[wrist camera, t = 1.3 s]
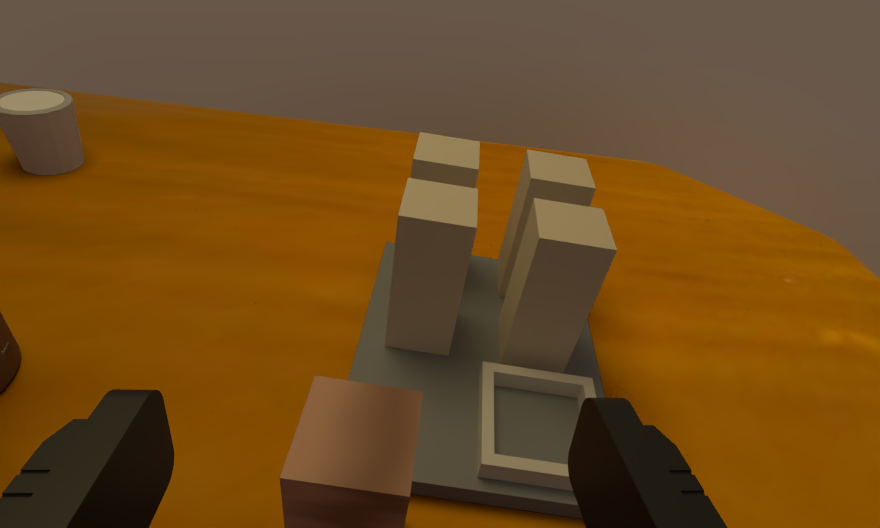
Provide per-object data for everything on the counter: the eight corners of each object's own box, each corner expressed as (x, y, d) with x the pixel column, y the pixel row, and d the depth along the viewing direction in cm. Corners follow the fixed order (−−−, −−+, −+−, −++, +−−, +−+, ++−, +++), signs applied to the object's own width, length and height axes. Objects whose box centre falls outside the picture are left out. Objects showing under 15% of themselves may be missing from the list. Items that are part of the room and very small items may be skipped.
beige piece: (91, 174, 55) (71, 111, 50) (11, 181, 52) (-17, 115, 47) (91, 146, 59) (73, 86, 55) (18, 151, 56) (-7, 88, 52)
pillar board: (323, 481, 32) (323, 328, 24) (385, 254, 51) (397, 125, 43) (621, 524, 32) (723, 389, 24) (572, 283, 51) (620, 162, 43)
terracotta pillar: (291, 598, 27) (279, 478, 19) (317, 504, 31) (315, 375, 23) (386, 611, 27) (409, 496, 20) (399, 516, 31) (423, 391, 23)
